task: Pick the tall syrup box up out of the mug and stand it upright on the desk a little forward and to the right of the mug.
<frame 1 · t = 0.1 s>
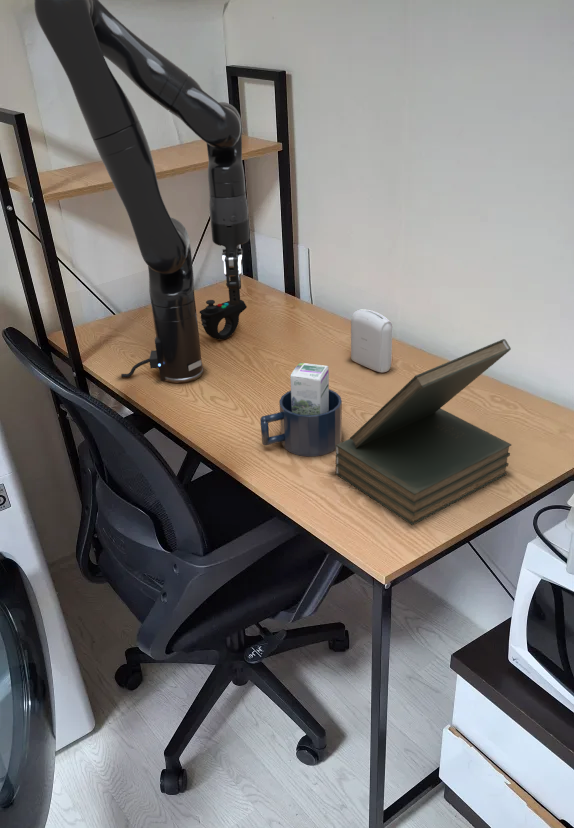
hand: (235, 296, 163), 17 cm above the table, tool pointing down, fingers open, 8 cm apart
photo printer: (370, 365, 174), on the table
syrup box: (311, 439, 148), resting on mug
controller: (225, 337, 189), on the table
mug: (311, 440, 149), on the table
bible: (420, 475, 138), on the table
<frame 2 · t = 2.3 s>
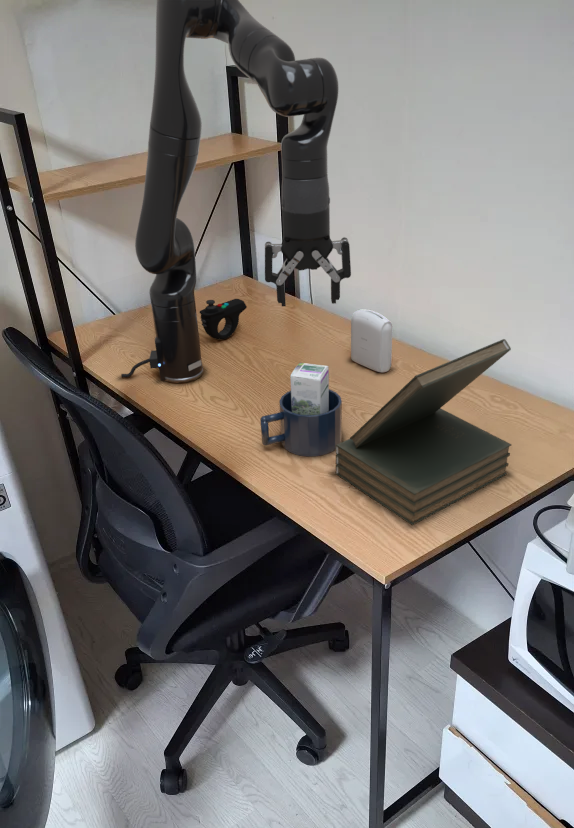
hand: (308, 303, 133), 27 cm above the table, tool pointing down, fingers open, 8 cm apart
nothing on the table moved.
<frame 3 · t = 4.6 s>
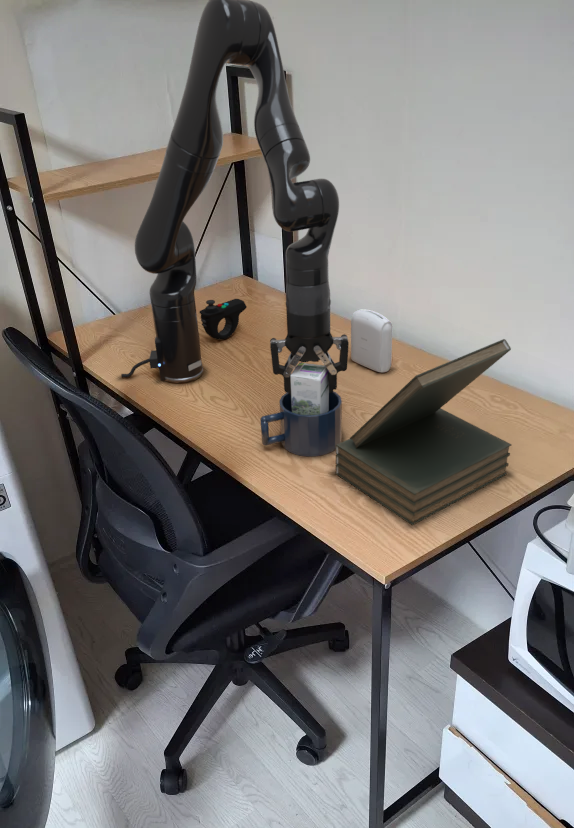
hand: (310, 391, 142), 10 cm above the table, tool pointing down, fingers closed on syrup box, 7 cm apart
syrup box: (311, 439, 148), resting on mug, touching gripper
everything else where it was.
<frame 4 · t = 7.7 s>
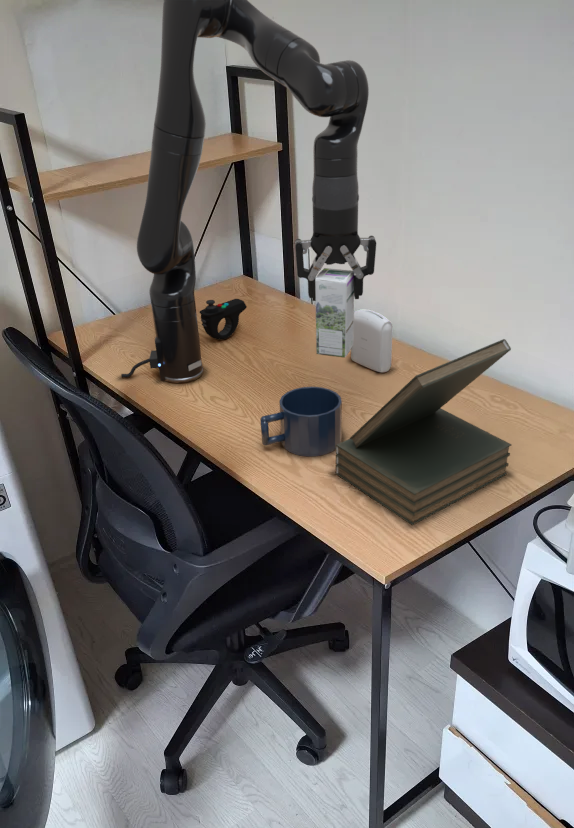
hand: (335, 298, 138), 26 cm above the table, tool pointing down, fingers closed on syrup box, 7 cm apart
syrup box: (334, 351, 144), point 16 cm above the table, touching gripper
everything else where it was.
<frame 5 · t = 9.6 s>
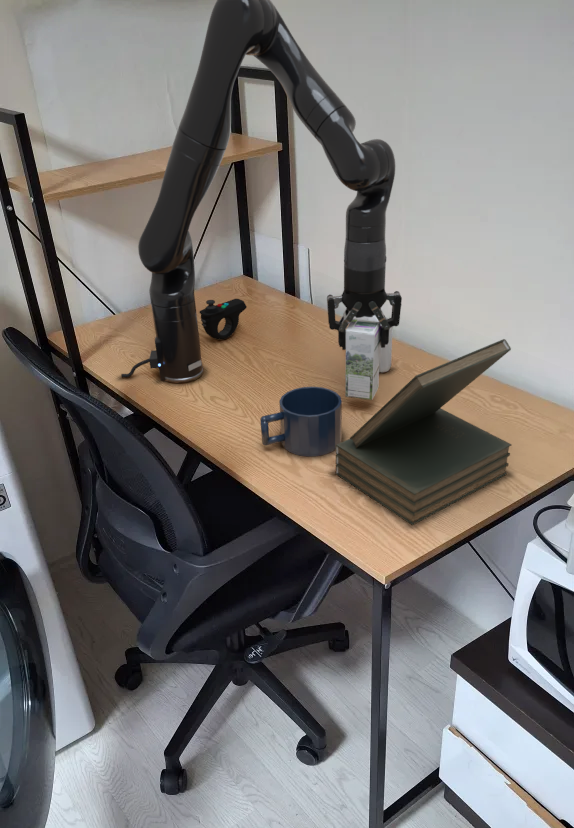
hand: (363, 347, 151), 13 cm above the table, tool pointing down, fingers closed on syrup box, 7 cm apart
syrup box: (362, 393, 157), point 3 cm above the table, touching gripper
everything else where it was.
when the fingers open (10 cm above the table, at t = 11.1 s): syrup box stays where it is, on the table.
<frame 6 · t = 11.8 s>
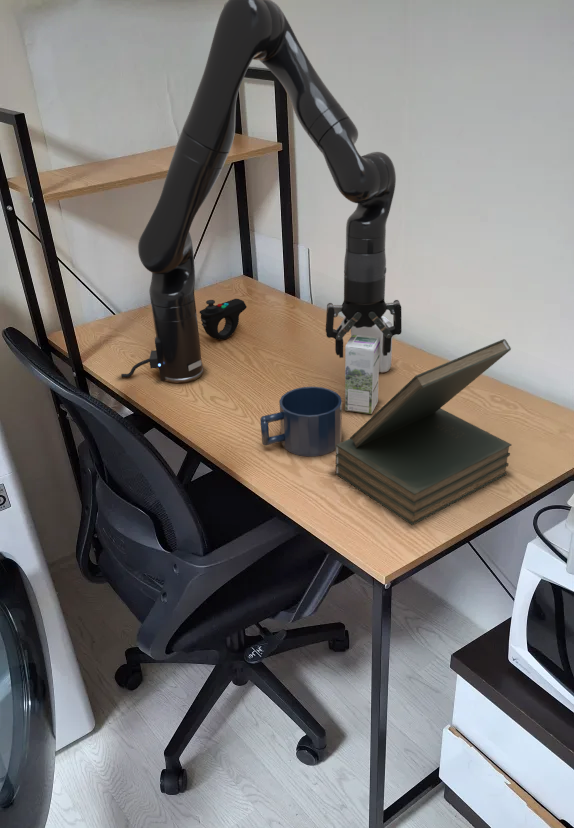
hand: (362, 355, 151), 11 cm above the table, tool pointing down, fingers open, 8 cm apart
syrup box: (361, 407, 158), on the table
everything else where it was.
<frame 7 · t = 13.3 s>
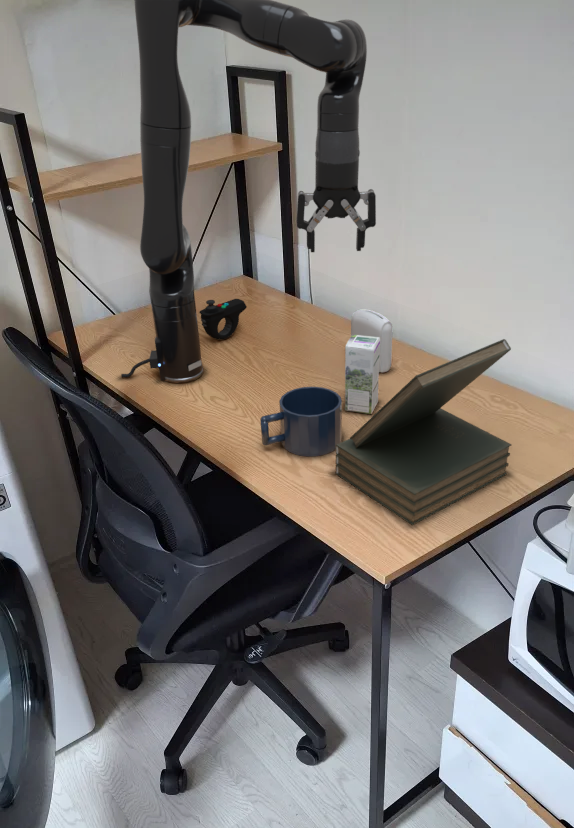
hand: (335, 250, 144), 30 cm above the table, tool pointing down, fingers open, 8 cm apart
nothing on the table moved.
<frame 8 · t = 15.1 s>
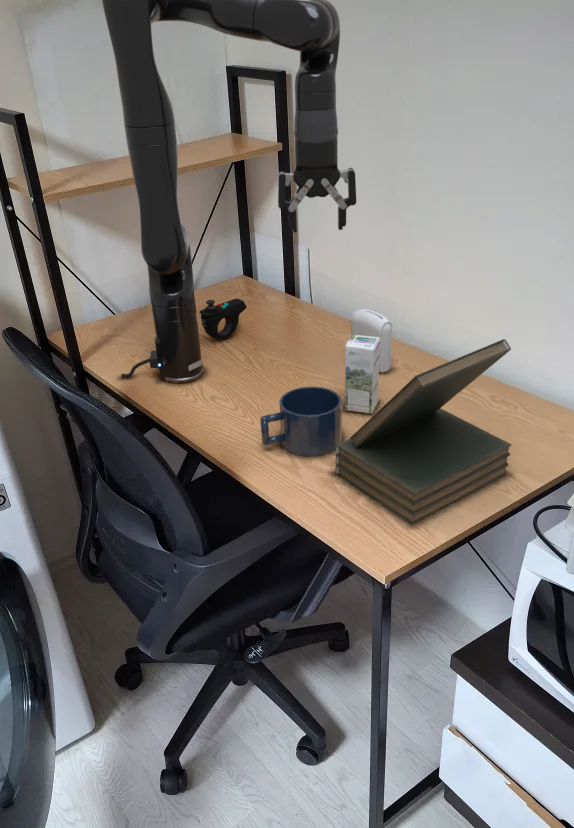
hand: (317, 230, 146), 33 cm above the table, tool pointing down, fingers open, 8 cm apart
nothing on the table moved.
at the end: syrup box inside the target area (0.1 cm from its centre), on the table; syrup box tilted 0°; syrup box touching table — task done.
